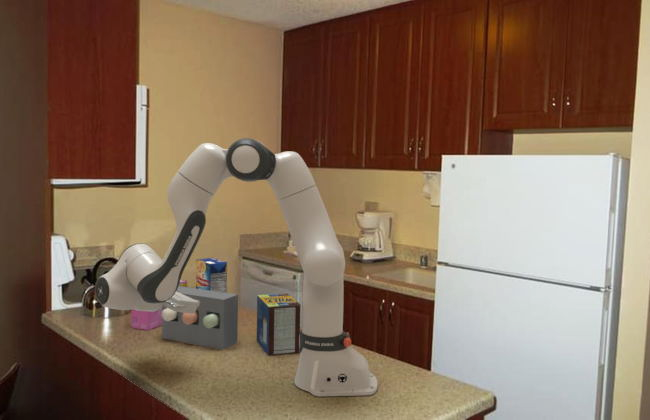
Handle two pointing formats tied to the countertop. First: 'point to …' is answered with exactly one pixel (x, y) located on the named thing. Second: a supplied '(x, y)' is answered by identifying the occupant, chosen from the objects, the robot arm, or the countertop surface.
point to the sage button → (211, 320)
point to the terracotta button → (190, 317)
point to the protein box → (278, 324)
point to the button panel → (196, 331)
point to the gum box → (149, 316)
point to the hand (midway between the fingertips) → (187, 298)
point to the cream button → (169, 314)
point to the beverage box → (211, 275)
